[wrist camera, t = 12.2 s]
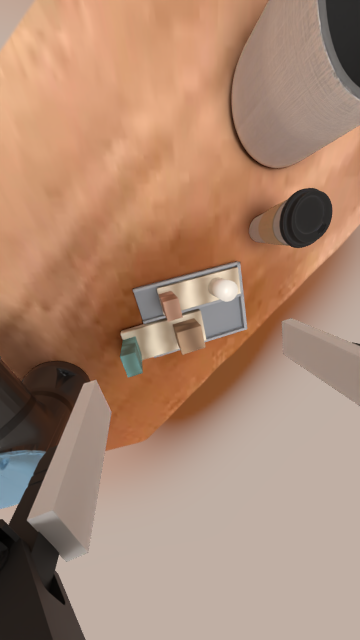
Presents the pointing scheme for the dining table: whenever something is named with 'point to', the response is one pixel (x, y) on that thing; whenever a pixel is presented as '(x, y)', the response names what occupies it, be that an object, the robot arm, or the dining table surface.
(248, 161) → the dining table surface
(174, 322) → the strip
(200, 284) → the strip
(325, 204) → the coffee cup
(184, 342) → the walnut cube
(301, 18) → the planter
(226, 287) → the stoneware cylinder
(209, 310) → the lane board
